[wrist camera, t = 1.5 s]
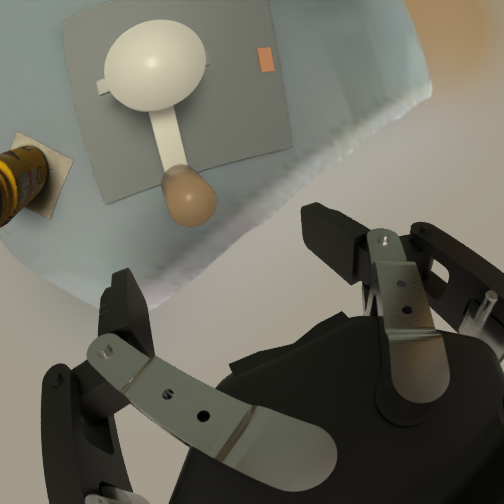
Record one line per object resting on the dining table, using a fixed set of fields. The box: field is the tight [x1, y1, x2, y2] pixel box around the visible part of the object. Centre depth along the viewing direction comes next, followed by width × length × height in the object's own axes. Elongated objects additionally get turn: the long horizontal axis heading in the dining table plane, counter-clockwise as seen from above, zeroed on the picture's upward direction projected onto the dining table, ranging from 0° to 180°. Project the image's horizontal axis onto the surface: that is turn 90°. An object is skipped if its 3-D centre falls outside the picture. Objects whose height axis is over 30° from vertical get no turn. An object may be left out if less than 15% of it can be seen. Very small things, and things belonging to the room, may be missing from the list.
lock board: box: [62, 0, 292, 205], centre depth 21 cm, size 22×22×5 cm
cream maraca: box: [96, 20, 217, 227], centre depth 17 cm, size 15×9×8 cm, turn 10°
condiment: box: [0, 132, 74, 228], centre depth 16 cm, size 7×8×12 cm
